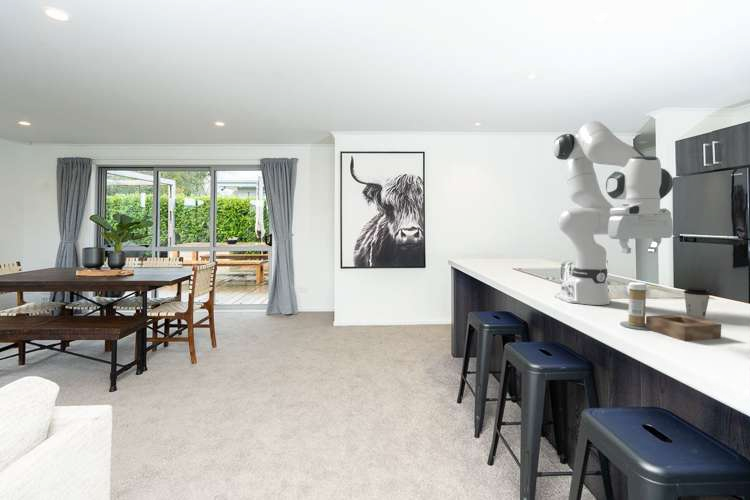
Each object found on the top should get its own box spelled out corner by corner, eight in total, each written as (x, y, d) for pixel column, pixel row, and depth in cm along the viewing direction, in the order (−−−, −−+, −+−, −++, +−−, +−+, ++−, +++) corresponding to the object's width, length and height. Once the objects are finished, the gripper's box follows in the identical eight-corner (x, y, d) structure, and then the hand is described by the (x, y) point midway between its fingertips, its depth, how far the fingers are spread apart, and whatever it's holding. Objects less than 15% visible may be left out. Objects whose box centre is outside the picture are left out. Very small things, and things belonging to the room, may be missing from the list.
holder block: (645, 328, 112) (646, 316, 112) (678, 326, 114) (679, 314, 114) (684, 340, 101) (685, 326, 100) (720, 338, 102) (721, 324, 102)
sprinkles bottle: (647, 325, 115) (649, 283, 114) (641, 327, 112) (643, 284, 111) (631, 322, 118) (632, 281, 118) (624, 324, 116) (626, 282, 115)
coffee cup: (714, 320, 120) (715, 291, 120) (688, 319, 122) (689, 290, 122) (702, 315, 127) (704, 287, 126) (678, 314, 129) (679, 286, 128)
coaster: (613, 323, 119) (613, 322, 119) (637, 321, 120) (637, 320, 120) (637, 331, 110) (637, 329, 110) (662, 329, 112) (662, 328, 112)
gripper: (661, 208, 117) (658, 251, 119) (605, 209, 114) (603, 253, 115) (680, 208, 111) (677, 252, 112) (621, 208, 108) (619, 255, 109)
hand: (639, 253), depth 114 cm, fingers open, 8 cm apart
